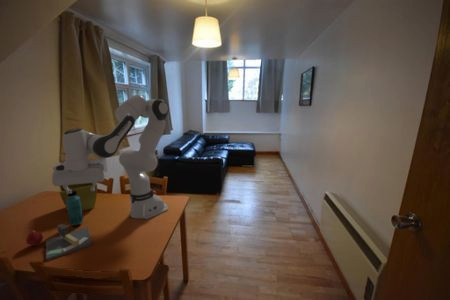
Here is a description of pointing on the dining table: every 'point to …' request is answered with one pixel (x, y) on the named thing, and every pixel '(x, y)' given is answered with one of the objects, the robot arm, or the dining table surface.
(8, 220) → the dining table surface
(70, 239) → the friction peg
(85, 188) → the flower pot
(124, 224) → the dining table surface
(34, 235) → the onion
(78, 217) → the beverage bottle
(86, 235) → the dial board
